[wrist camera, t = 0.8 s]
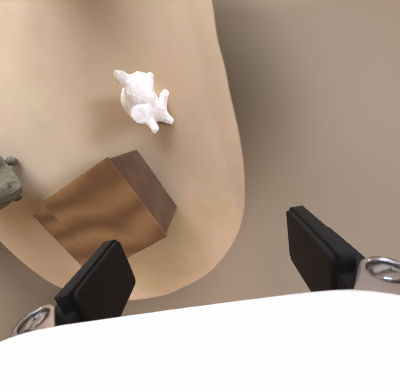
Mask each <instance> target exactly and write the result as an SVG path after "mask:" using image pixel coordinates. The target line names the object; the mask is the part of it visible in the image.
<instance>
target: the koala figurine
mask: <svg viewBox="0 0 400 392" xmlns="http://www.w3.org/2000/svg"><path fill="white" fill-rule="evenodd" d="M113 73H114V76H115V78H116V79H117V81H118V82H119V83H120V84H121V85H122V86H123V87H124V88H123V90H122V93H121V97H120V98H121V104H122V106H123V108H124V110H125V111H126V112H127V113H128V114H129V115H130V117H131V119H132V120H134V122H136V123H138V124H146V125H147V126H148V127H150V129H151V131H152V133H156V131H158V130H159V127H158V125H157V123H156V122H160V121H161V122H165V123H167V124H172V123H173V122H174V119H173V118H172V117H171V116H170V115H169V113H168V112H167V98H168V95H169V92H168V91H167V90H163V91H162V93H161V94H160V96H159V98H158V96H157V95H156V93H155V92H154V89H153V87H154V84H153V80H154V75H153V74H152V73H151V72H150V73H143V72H140V71H136V72H134V73H133V74H130V75H128V74H127V73H125V72H122V71H120V70H114V71H113Z"/></svg>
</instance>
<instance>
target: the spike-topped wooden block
mask: <svg viewBox="0 0 400 392" xmlns="http://www.w3.org/2000/svg"><path fill="white" fill-rule="evenodd" d="M17 163H18V161H17V159H16V158H14V157H8V158H7V159H6V161H4V160H3V158H2V157H1V156H0V210H1V209H2V208H4V207H5V206H7V205H8V204H10V203H11V202H12V201H19V200H20V199H21V198H22V196H21V193H22V185H21V182H20V180H19V178H18V177H17V175H16V174H15V173H14V172H13V170H12V169H11V168H10V167H9V166H8V165H11V166H14V165H16V164H17Z"/></svg>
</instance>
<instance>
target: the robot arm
mask: <svg viewBox="0 0 400 392" xmlns="http://www.w3.org/2000/svg"><path fill="white" fill-rule="evenodd" d="M286 216H287V226H288V239H289V251H290V256H291V260H292V262H293V263H294V265H295V266H296V268H297V270H298V271H299V273H300V274H301V276H302V278H303V279H304V281H305V282H306V284H307V286H308V287H309V289H310V290H311V292H306V293H297V294H289V295H281V296H274V297H265V298H258V299H250V300H242V301H234V302H227V303H220V304H212V305H204V306H197V307H189V308H181V309H174V310H167V311H159V312H152V313H145V314H139V315H138V314H137V315H130V316H124V317H120V316H121V314H122V312H123V310H124V307H125V305H126V303H127V301H128V299H129V297H130V294H131V292H132V290H133V288H134V286H135V277H134V274H133V272H132V269H131V267H130V265H129V262H128V260H127V257H126V255H125V253H124V250H123V248H122V245H121V243H120V242H119V241H117V240H109V241H105V242H103V244H102V245H101V246H100V247H99V248H98V249H97V250H96V251H95V253H94V254H93V255H92V256H91V257H90V258H89V259H88V260H87V262H86V263H85V264H84V265H83V266H82V267H81V268H80V269H79V271H78V272H77V273H76V274H75V275H74V276H73V277H72V278H71V280H70V281H69V282H68V283H67V284H66V285H65V286H64V287H63V289H62V290H61V291H60V292H59V293H58V294H57V295H56V297H55V298H54V299H55V300H56V302H57V305H56V307H55V308H54V306H52V305H45V306H41V307H39V308H37V309H35V310H33V311H32V312H30V313H28V314H27V315H26V316H25V317H23V318H22V319H21V320H20V321H19V322H18V323H17V324H16V326H15V327H14V328H13V330H12V332H11V336H10V338H9V339H6V340H4V341H1V342H0V392H400V261H398V260H395V259H391V258H387V257H379V256H378V257H377V256H376V257H375V256H374V257H368V258H365V257H364V256H363V255H362V254H360V253H359V252H358V251H357V250H356V249H354V248H353V247H352V246H351V245H350V244H348V243H347V242H346V241H345V240H344V239H343V238H341V237H340V236H339V235H338V234H337V233H335V232H334V231H333V230H332V229H331V228H329V227H327V226H325V225H324V224H323V223H322V222H321V221H320V220H318V219H317V218H316V217H315V216H314V215H313V214H312V213H310V212H309V211H308V210H307V209H306V208H305V207H303V206H296V207H291V208H290V210H289V211H287V212H286Z"/></svg>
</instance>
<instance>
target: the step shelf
mask: <svg viewBox="0 0 400 392" xmlns="http://www.w3.org/2000/svg"><path fill="white" fill-rule="evenodd" d="M43 204H44V205H45V208H44V209H42V210H41V211H39V212H38V213H37V214H35V215H34V217H35V218H36V219H37V220H38V221H39V222H40V223H41V224H42V225H43V226H44V227H45V228H46V229H47V230H48V231H49V232H50V233H51V234H52V235H53V236H54V237H55V238H56V239H57V241H58V242H59V243H60V244H61V245H62V246H63V247H64V248H65V249H66V250H67V251H68V252H69V253H70V254H71V255H72V256H73V257H74V258H75V259H76V260H77V261H78V262H79V263H80V264H81V265H82V266H83V265H84V264H85V263H86V262H87V260H88V259H89V258H90V257H91V256H92V255H93V254H94V253H95V251H96V250H97V249H98V248H99V247H100V246H101V245H102V244H103V242H105V241H109V240H117V241H119V242H120V243H121V245H122V248H123V250H124V253H125V255H126V257H127V258H128V257H130V256H131V255H133V254H135V253H137V252H139V251H141V250H143V249H144V248H146V247H148V246H150V245H152V244H154V243H156V242H157V241H159V240H161V239H163V238H165V237H167V234H166V233H167V230H168V227H169V225H170V222H171V220H172V217H173V215H174V212H175V210H176V207H177V206H176V205H175V204H174V202H173V201H172V199H171V198H170V196H169V195H168V194H167V192H166V191H165V189H164V188H163V186H162V185H161V184H160V182H159V181H158V179H157V178H156V176H155V175H154V174H153V172H152V171H151V169H150V168H149V166H148V165H147V164H146V162H145V161H144V159H143V158H142V156H141V155H140V154H139V152H138V151H137V150H134V151H131V152H129V153H126V154H123V155H120V156H117V157H114V158H111V159H109V157H108V158H106V159H105V160H103V161H102V162H100V163H99V164H97V165H96V166H95V167H93V168H92V169H90V170H89V171H87V172H86V173H84V174H83V175H82V176H80V177H79V178H77V179H76V180H74V181H73V182H72V183H70V184H69V185H67V186H66V187H64V188H63V189H62V190H60V191H59V192H57V193H56V194H54V195H53V196H52V197H50V198H49V199H47V200H46V201H44V202H43Z"/></svg>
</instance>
